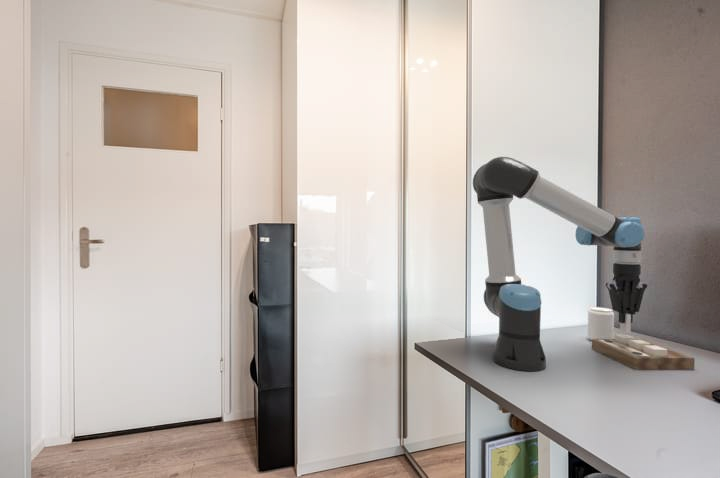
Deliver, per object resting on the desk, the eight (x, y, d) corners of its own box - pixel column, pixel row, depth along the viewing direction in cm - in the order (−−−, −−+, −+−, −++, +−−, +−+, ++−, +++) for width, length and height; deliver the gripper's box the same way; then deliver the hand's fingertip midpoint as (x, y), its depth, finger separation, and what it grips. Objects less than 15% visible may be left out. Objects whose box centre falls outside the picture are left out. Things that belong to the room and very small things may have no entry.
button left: (623, 348, 120) (623, 337, 120) (614, 344, 124) (614, 334, 124) (635, 348, 120) (635, 337, 120) (625, 344, 124) (626, 334, 124)
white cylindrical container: (618, 344, 131) (619, 311, 131) (596, 343, 131) (597, 311, 131) (604, 337, 139) (604, 306, 139) (583, 337, 139) (583, 306, 139)
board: (635, 369, 106) (635, 357, 106) (591, 348, 125) (591, 338, 125) (694, 369, 107) (694, 356, 107) (641, 348, 126) (642, 338, 126)
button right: (654, 360, 108) (654, 349, 108) (643, 356, 112) (643, 345, 112) (667, 360, 108) (667, 349, 108) (655, 356, 112) (656, 345, 112)
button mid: (638, 354, 114) (638, 343, 114) (628, 350, 118) (628, 339, 118) (650, 354, 114) (650, 343, 114) (639, 349, 118) (640, 339, 118)
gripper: (616, 264, 117) (614, 335, 118) (655, 264, 118) (653, 335, 118) (600, 262, 125) (598, 329, 125) (636, 262, 125) (635, 329, 126)
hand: (625, 332), depth 122 cm, fingers closed
